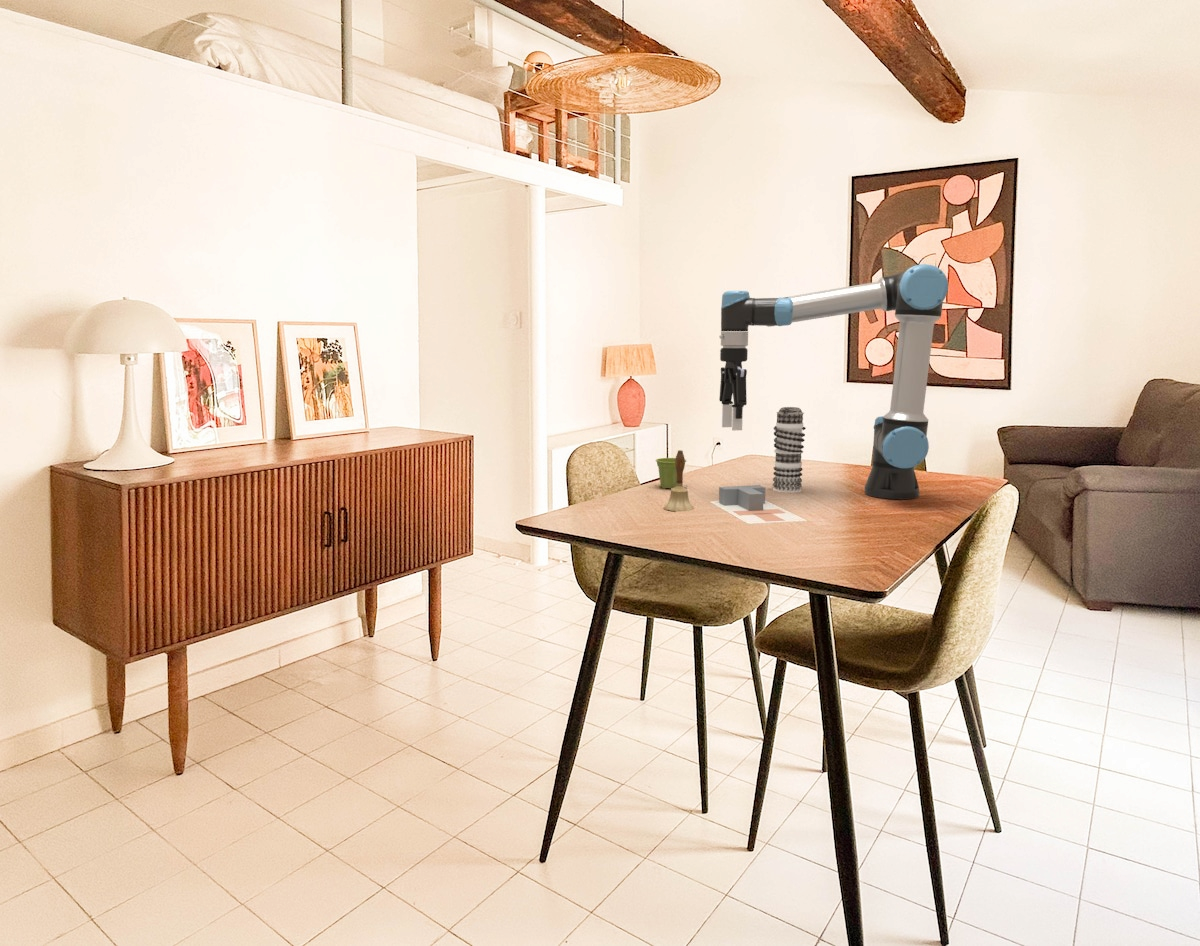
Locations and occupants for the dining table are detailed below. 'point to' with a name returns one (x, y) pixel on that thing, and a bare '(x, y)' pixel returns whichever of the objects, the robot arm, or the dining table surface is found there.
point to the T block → (743, 496)
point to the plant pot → (667, 472)
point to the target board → (760, 513)
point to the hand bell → (679, 489)
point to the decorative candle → (788, 450)
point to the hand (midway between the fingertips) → (731, 428)
